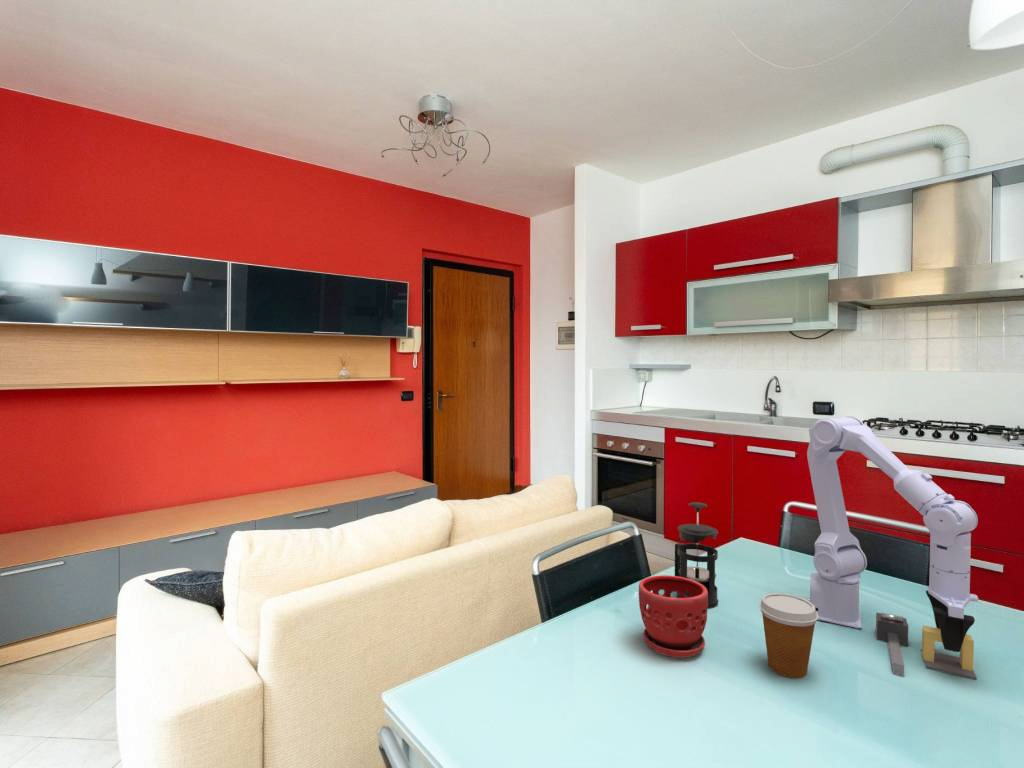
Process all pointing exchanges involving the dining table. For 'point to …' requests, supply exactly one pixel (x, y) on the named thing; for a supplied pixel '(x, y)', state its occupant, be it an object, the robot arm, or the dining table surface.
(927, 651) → the yellow pull handle
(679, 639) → the plant pot
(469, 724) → the dining table surface
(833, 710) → the dining table surface
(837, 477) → the robot arm
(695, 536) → the french press
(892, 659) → the grey block with bar
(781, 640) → the disposable coffee cup
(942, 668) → the rubber mat
